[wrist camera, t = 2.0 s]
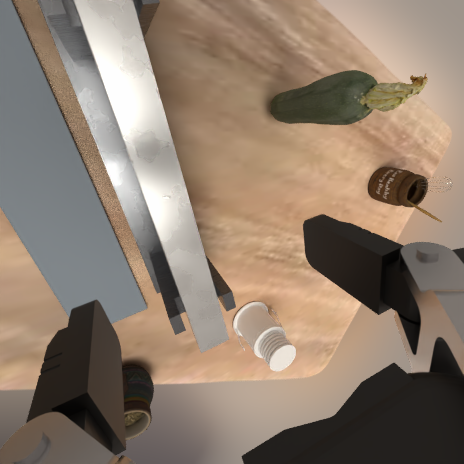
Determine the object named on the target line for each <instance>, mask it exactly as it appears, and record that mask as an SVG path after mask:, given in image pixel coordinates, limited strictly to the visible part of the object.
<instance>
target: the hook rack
mask: <svg viewBox="0 0 464 464" xmlns="http://www.w3.org/2000/svg"><path fill="white" fill-rule="evenodd" d="M38 3H39V5H40V8H41V10H42V13H43V15H44V18H45V20H46V22H47V25H48V27H49V30H50V32H51V35H52V37H53V40H54V42H55V44H56V47H57V49H58V52H59V54H60V57H61V59H62V62H63V64H64V67H65V69H66V71H67V74H68V76H69V79H70V81H71V84H72V86H73V89H74V91H75V93H76V96H77V98H78V101H79V103H80V106H81V108H82V111H83V113H84V116H85V118H86V120H87V123H88V125H89V128H90V130H91V133H92V135H93V138H94V140H95V142H96V145H97V147H98V150H99V152H100V155H101V157H102V160H103V162H104V165H105V167H106V169H107V172H108V174H109V177H110V179H111V182H112V184H113V187H114V189H115V191H116V194H117V196H118V199H119V201H120V204H121V206H122V209H123V211H124V214H125V216H126V218H127V221H128V223H129V226H130V228H131V231H132V233H133V236H134V238H135V240H136V243H137V245H138V248H139V250H140V253H141V255H142V258H143V260H144V262H145V265H146V267H147V270H148V272H149V275H150V277H151V280H152V282H153V285H154V287H155V289H156V292H157V293H160V292H161V295H162V298H163V301H164V304H165V307H166V311H167V314H168V317H169V320H170V323H171V325H172V328H173V330H174V332H175V335H177V334H179V333H181V332H183V331H185V330H186V329H185V327H184V324H183V321H182V319H181V316H180V314H181V313H183V312H185V309H184V306H183V304H182V301H181V298H180V295H179V293H178V290H177V287H176V284H175V281H174V279H173V276H172V273H171V270H170V268H169V265H168V262H167V259H166V257H165V254H164V251H163V248H162V246H161V243H160V240H159V237H158V235H157V232H156V229H155V226H154V224H153V221H152V218H151V215H150V213H149V210H148V207H147V204H146V202H145V199H144V196H143V193H142V191H141V188H140V185H139V182H138V180H137V177H136V174H135V171H134V168H133V166H132V163H131V160H130V157H129V155H128V152H127V149H126V146H125V144H124V141H123V138H122V135H121V133H120V130H119V127H118V124H117V122H116V119H115V116H114V113H113V111H112V108H111V105H110V102H109V100H108V97H107V94H106V91H105V89H104V86H103V83H102V80H101V78H100V75H99V72H98V69H97V67H96V64H95V61H94V58H93V55H92V53H91V50H90V47H89V44H88V42H87V39H86V36H85V33H84V31H83V28H82V25H81V22H80V20H79V17H78V14H77V11H76V9H75V6H74V3H73V0H38ZM133 3H134V7H135V10H136V14H137V17H138V21H139V24H140V28H141V31H142V35H143V38H144V37H145V35H146V32H147V30H148V28H149V26H150V23H151V21H152V19H153V17H154V14H155V12H156V10H157V7H158V5H159V3H160V2H159V0H133ZM205 256H206V255H205ZM206 259H207V263H208V266H209V270H210V273H211V277H212V281H213V284H214V288H215V291H216V295H217V297H218V298H219V300H220V301H221V303H222V305H223V306H224V308H225V309H226V311H229V310H231V309H233V308H235V307H236V305H235V301H234V297H233V293H232V291H231V289H230V288H229V287H228V285H227V284H226V282H225V281H224V280H223V278H222V277H221V276H220V274H219V273H218V271H217V270H216V269H215V267H214V266H213V265H212V263H211V262H210V260H209V259H208V258H207V256H206Z"/></svg>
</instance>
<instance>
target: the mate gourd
mask: <svg viewBox="0 0 464 464" xmlns="http://www.w3.org/2000/svg"><path fill="white" fill-rule="evenodd" d="M122 377H123V397H124V417H125V437H126V440H129V439H132V438H135V437H137V436H138V435H140V434H141V433H142V432H144V431H145V430H147V428H148V426H149V425H150V423H151V411H150V404H151V401H152V398H153V392H154V387H153V382H152V379H151V377H150V376H149V373H148V372H147V371H146V370H145V369H144V368H142V367H139V366H134V365H133V366H125V367H122Z"/></svg>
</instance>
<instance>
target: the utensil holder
mask: <svg viewBox="0 0 464 464" xmlns="http://www.w3.org/2000/svg"><path fill="white" fill-rule="evenodd" d="M433 178H434V177H433ZM427 179H429V178H427ZM427 179H426V178H425V177H424V176H421V175H418V174H414V173H412V172H410V171H407V170H402V169H396V168H389V167H385V168H381V169H379V170H377V171H376V172H375V173H374V174H373V176H372V177H371V179H370V182H369V187H368V190H369V194H370V196H371V197H372V198H373V199H375V200H378V201H381V202H384V203H388V204H391V205H396V206H401V205H403V206H405V207H415V208H417V209H419V210H420V211H421V212H423V213H425V214H426V215H428V216H430V217H432V218H433V219H435V220H437V221H440V222H442V221H441V220H439V219H438V218H436V217H434V216H433V215H431V214H430V213H428V212H427V211H425V210H423V209H421V208H420V207H418V206H417V205H418V204H419V203H421V201H422V200H423V199H424V197H425V195H426V193H427V190H428V183H429V182H430V181H429V182H428V181H427ZM447 180H448V179H447ZM450 182H451V181H450ZM450 187H452V184H451V185H450ZM443 192H444V191H443Z"/></svg>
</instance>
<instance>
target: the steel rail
mask: <svg viewBox="0 0 464 464" xmlns="http://www.w3.org/2000/svg"><path fill="white" fill-rule="evenodd" d="M73 3H74V6H75V9H76V11H77V14H78V17H79V20H80V22H81V25H82V28H83V31H84V33H85V36H86V39H87V42H88V44H89V47H90V50H91V53H92V55H93V58H94V61H95V64H96V67H97V69H98V72H99V75H100V78H101V80H102V83H103V86H104V89H105V91H106V94H107V97H108V100H109V102H110V105H111V108H112V111H113V113H114V116H115V119H116V122H117V124H118V127H119V130H120V133H121V135H122V138H123V141H124V144H125V146H126V149H127V152H128V155H129V157H130V160H131V163H132V166H133V168H134V171H135V174H136V177H137V180H138V182H139V185H140V188H141V191H142V193H143V196H144V199H145V202H146V204H147V207H148V210H149V213H150V215H151V218H152V221H153V224H154V226H155V229H156V232H157V235H158V237H159V240H160V243H161V246H162V248H163V251H164V254H165V257H166V259H167V262H168V265H169V268H170V270H171V273H172V276H173V279H174V281H175V284H176V287H177V290H178V293H179V295H180V298H181V301H182V304H183V306H184V309H185V312H186V315H187V317H188V320H189V323H190V326H191V328H192V331H193V334H194V336H195V339H196V341H197V344H198V346H199V349H200V351H201V353H202V352H204V351H207V350H209V349H211V348H213V347H215V346H217V345H219V344H221V343H223V342H225V341H227V340H229V337H228V333H227V330H226V326H225V323H224V319H223V316H222V312H221V309H220V305H219V302H218V298H217V295H216V291H215V288H214V284H213V281H212V277H211V273H210V270H209V266H208V263H207V259H206V256H205V252H204V249H203V245H202V242H201V238H200V235H199V231H198V228H197V224H196V221H195V217H194V214H193V210H192V207H191V203H190V200H189V196H188V193H187V189H186V186H185V182H184V179H183V175H182V172H181V168H180V165H179V161H178V158H177V154H176V151H175V147H174V144H173V140H172V137H171V133H170V130H169V126H168V122H167V119H166V115H165V112H164V108H163V105H162V101H161V98H160V94H159V91H158V87H157V84H156V80H155V77H154V73H153V70H152V66H151V63H150V59H149V56H148V52H147V49H146V45H145V42H144V38H143V35H142V31H141V28H140V24H139V21H138V17H137V14H136V10H135V7H134V3H133V0H73Z"/></svg>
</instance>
